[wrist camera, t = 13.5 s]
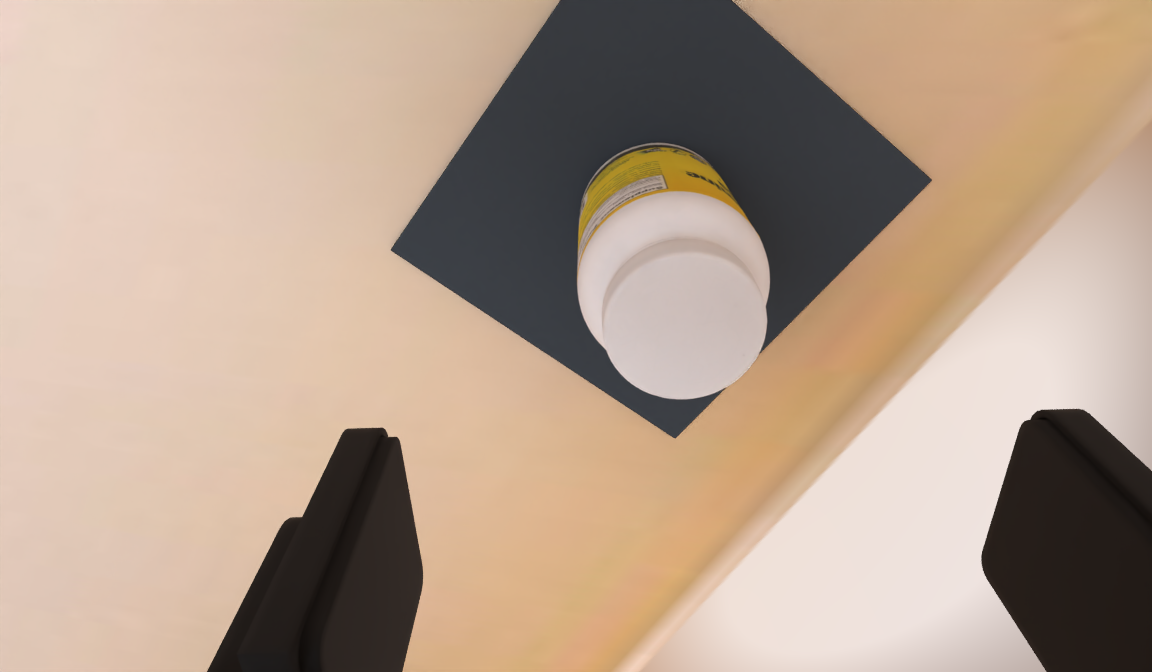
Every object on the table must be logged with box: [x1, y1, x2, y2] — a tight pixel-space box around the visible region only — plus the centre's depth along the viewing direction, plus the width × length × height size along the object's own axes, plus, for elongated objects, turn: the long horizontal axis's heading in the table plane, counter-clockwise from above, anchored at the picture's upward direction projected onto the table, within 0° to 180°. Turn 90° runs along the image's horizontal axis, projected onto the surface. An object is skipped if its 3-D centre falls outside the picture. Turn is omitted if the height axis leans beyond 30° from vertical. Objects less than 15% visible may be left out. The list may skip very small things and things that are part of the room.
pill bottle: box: [577, 143, 770, 399], centre depth 26 cm, size 6×6×11 cm
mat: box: [391, 0, 932, 438], centre depth 31 cm, size 16×16×1 cm
